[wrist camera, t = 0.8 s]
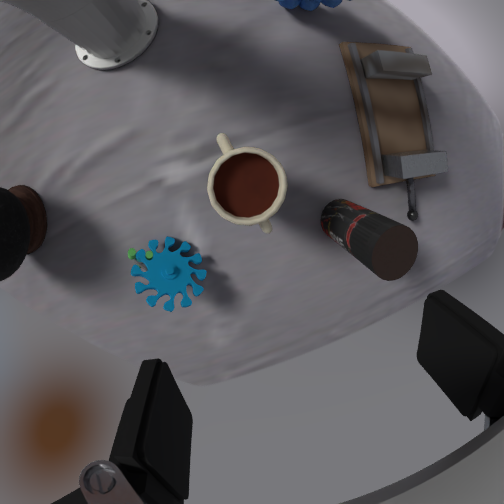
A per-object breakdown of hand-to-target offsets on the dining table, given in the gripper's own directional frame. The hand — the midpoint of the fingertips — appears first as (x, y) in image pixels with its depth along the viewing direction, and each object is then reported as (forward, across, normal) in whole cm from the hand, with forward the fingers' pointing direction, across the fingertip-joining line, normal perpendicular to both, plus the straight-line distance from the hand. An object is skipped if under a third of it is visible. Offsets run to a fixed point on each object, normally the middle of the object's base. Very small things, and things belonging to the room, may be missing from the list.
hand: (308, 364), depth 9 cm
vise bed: (+31, -25, -12) cm, 41 cm away
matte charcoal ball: (+30, +35, -8) cm, 47 cm away
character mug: (+31, 0, -5) cm, 31 cm away
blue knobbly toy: (+31, +12, +5) cm, 34 cm away
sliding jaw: (+30, -25, 0) cm, 39 cm away
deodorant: (+31, -13, +4) cm, 34 cm away
